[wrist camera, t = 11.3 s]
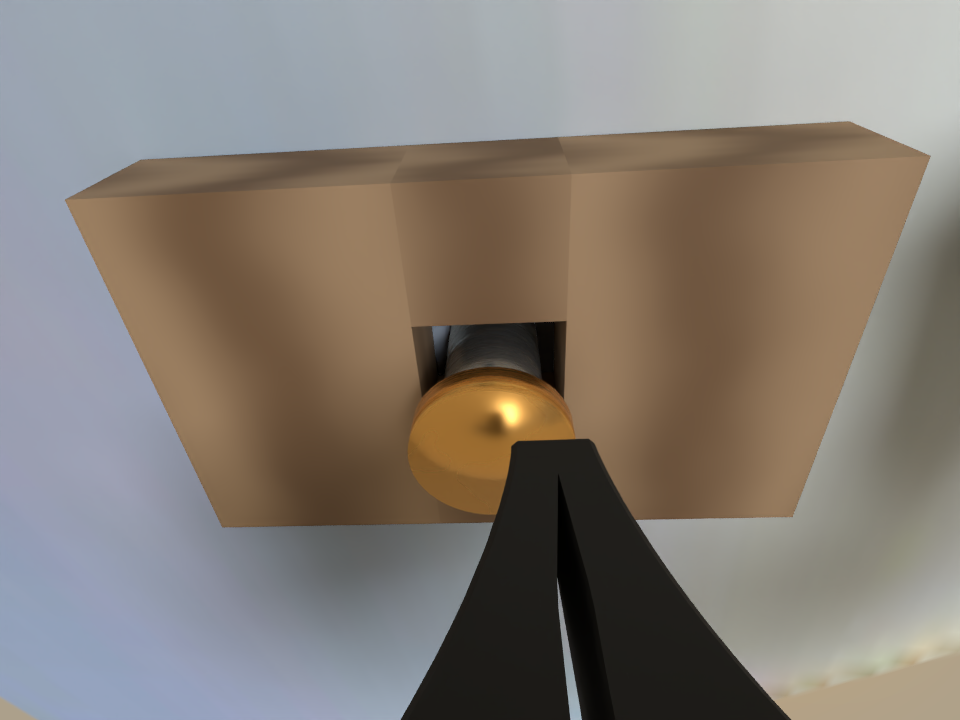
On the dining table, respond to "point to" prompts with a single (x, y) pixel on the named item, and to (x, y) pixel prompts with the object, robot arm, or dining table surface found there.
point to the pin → (483, 415)
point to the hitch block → (505, 305)
